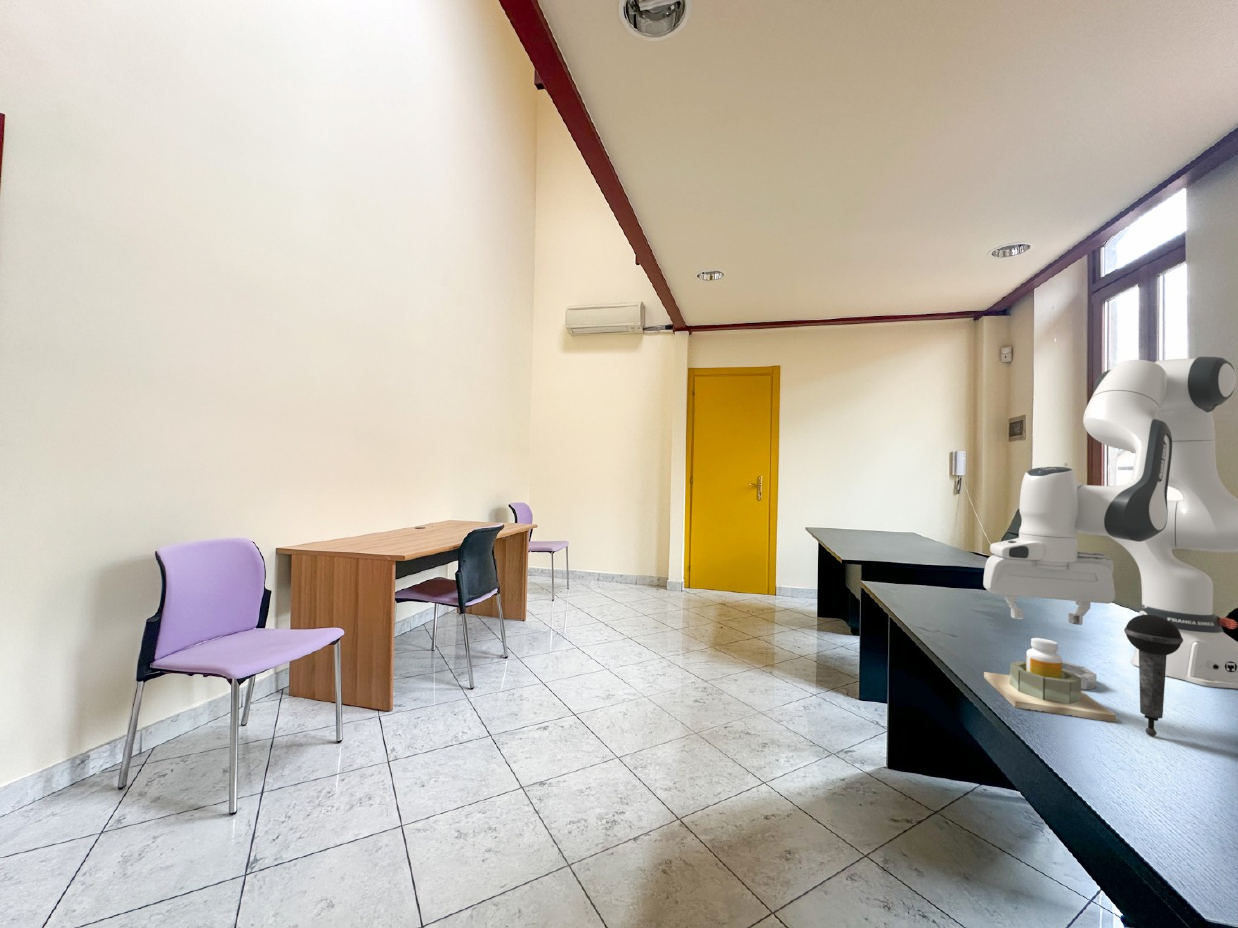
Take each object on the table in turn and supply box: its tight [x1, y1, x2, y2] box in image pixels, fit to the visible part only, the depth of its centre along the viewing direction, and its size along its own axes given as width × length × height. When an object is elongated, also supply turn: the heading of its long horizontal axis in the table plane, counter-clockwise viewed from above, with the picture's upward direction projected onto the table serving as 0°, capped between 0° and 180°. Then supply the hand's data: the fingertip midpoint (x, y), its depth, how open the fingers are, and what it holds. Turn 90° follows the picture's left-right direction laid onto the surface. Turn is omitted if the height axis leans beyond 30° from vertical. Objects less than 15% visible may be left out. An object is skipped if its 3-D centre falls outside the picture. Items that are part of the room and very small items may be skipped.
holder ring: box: [1062, 660, 1097, 691], centre depth 110 cm, size 10×10×2 cm
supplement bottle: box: [1025, 637, 1063, 679], centre depth 100 cm, size 5×5×10 cm
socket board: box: [983, 660, 1117, 723], centre depth 100 cm, size 15×15×5 cm
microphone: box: [1123, 615, 1183, 737], centre depth 86 cm, size 7×7×20 cm
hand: (1045, 620), depth 100 cm, fingers open, 8 cm apart
